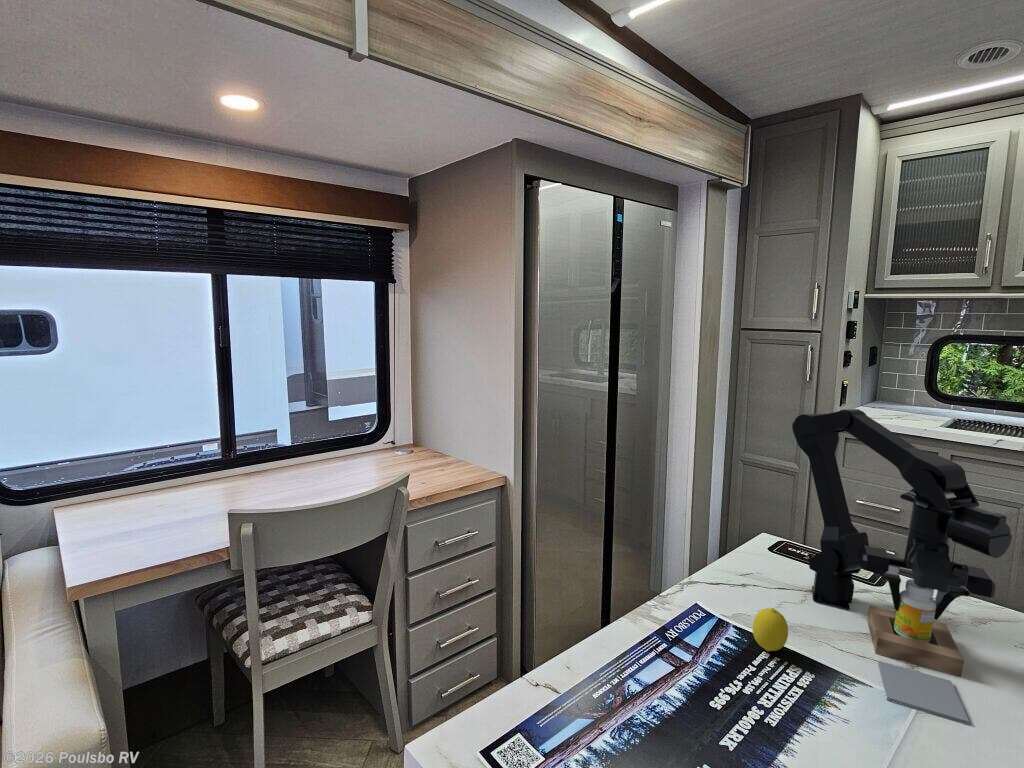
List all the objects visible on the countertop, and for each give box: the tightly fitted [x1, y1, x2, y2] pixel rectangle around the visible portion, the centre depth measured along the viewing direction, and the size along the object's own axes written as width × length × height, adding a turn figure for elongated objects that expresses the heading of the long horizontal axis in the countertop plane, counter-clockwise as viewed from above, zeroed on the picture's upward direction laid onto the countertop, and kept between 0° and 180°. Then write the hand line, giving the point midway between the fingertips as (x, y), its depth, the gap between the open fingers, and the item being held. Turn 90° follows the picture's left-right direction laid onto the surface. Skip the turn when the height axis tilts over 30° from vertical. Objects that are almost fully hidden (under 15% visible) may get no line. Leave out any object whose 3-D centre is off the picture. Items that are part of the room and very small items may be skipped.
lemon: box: [752, 607, 789, 653], centre depth 95 cm, size 6×6×8 cm
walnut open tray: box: [866, 605, 965, 677], centre depth 98 cm, size 12×12×3 cm
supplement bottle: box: [894, 578, 936, 643], centre depth 98 cm, size 5×5×10 cm
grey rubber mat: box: [877, 660, 970, 725], centre depth 87 cm, size 10×10×1 cm
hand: (915, 613), depth 98 cm, fingers closed on supplement bottle, 5 cm apart
